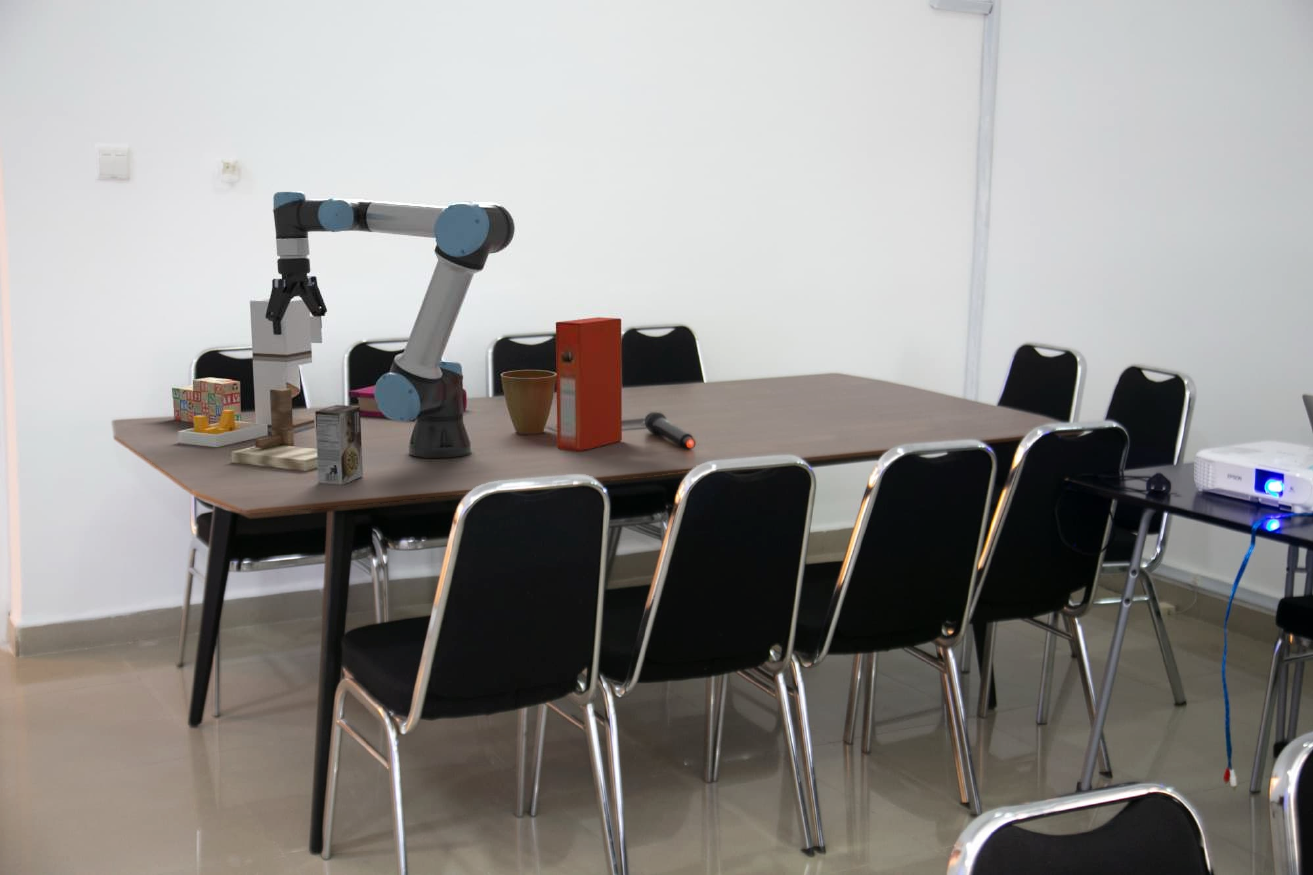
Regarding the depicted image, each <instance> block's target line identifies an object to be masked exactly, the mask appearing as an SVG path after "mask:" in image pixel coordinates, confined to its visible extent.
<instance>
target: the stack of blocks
mask: <svg viewBox="0 0 1313 875" xmlns="http://www.w3.org/2000/svg"><path fill="white" fill-rule="evenodd" d="M171 393H172V396H171V398H172V405H173V419H174V420H176V421H182V422H188V423H193V424H194V419H193V416H197V415H202V416H207V421H208V423H209V425H211V424H216V423H219V421H220V419H221V414H222V411H223V410H234V412H235V421H240V422H242V414H241V413H242V411H241V410H242V408H241V402H242V401H241V381H238V380H233V379H228V378H219V377H218V378H217V377H204V378H203V377H202V378H197V379H195V378H194V379H192V385H191V384H190V385H184V386H183V385H182V386H176V387H172V388H171Z"/></svg>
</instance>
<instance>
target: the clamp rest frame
mask: <svg viewBox="0 0 1313 875" xmlns="http://www.w3.org/2000/svg"><path fill="white" fill-rule="evenodd" d="M217 424H218V423H216V424H211V425H210V426H211V427H215V426H216V425H217ZM268 433H269V432H268V430H267V424H260V423H256V422H250V421H249V422H247V421H241V422H240V421H235V431H230V432H226V433H221V434H217V435H214V434H205V433H195V432H194V427H193V428H186V429H183V430H178V431H177V437H178V444H185V445H192V446H193V445H194V446H203V447H211V448H212V447H213V448H220V447H225V446H227V445H233V444H237V443H241V442H245V441H251V440H255V439H258V438H263V437H267V436H269V434H268Z"/></svg>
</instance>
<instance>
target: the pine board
mask: <svg viewBox="0 0 1313 875" xmlns="http://www.w3.org/2000/svg"><path fill="white" fill-rule="evenodd" d="M230 454H231V463H233V464H234V463H235V464H243V465H253V466H258V467H259V466H261V467H268V468H279V469H284V470H294V471H302V472H308V471H310V470H315V469H318V463H317V448H312V447H311V448H310V447H302V446H301V447H300V446H295V445H294V446H284V445H273V446H269V447H265V448H255V445H254V446H251V447H246V448H243V449H238V450H234V451H231V452H230Z"/></svg>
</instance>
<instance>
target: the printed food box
mask: <svg viewBox="0 0 1313 875" xmlns="http://www.w3.org/2000/svg"><path fill="white" fill-rule="evenodd" d="M314 413H315V414H314V415H315V432H316V433H315V435H316V437H315V439H316V449H317V463H318V468H317V480H318V481H317V482H318V484H319V483H320V484H329V485H341V486H342V485H343V486H344V485H345V484H348V483H350V482H351V481H352V482H353V481H354V480H357V479H359V478H361V477H363V476H364V473H363V472H364V471H363V468H364V466H363V446H362V426H361V425H362V423H361V422H362V421H361V420H362V419H361V415H360V407H358V406H352V405H343V404H335V405H331V406H329V407H326V408H322V409H319V410H315V412H314Z"/></svg>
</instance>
